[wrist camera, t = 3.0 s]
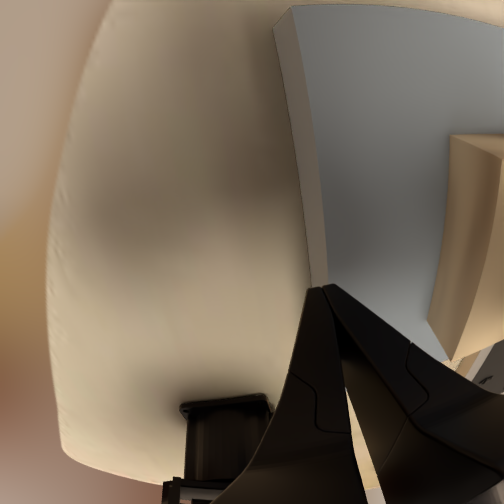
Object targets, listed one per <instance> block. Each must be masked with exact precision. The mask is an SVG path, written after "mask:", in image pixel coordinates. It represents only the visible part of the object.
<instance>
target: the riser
mask: <svg viewBox="0 0 504 504" xmlns="http://www.w3.org/2000/svg"><path fill="white" fill-rule="evenodd" d="M273 33H274V38H275V43H276V47H277V52H278V57H279V62H280V68H281V73H282V78H283V83H284V89H285V94H286V100H287V106H288V111H289V117H290V123H291V129H292V135H293V142H294V148H295V155H296V161H297V168H298V175H299V182H300V189H301V197H302V204H303V212H304V220H305V228H306V237H307V245H308V254H309V264H310V273H311V284H312V287H317V286H320V287H322V285H327V284H331V283H335V284H336V285H338V286H339V287H341V288H342V289H343V290H345V291H346V292H347V293H349V294H350V295H351V296H353V297H354V298H355V299H357V300H358V301H359V302H361V303H362V304H363V305H365V306H366V307H367V308H368V309H370V310H371V311H372V312H374V313H375V314H376V315H378V316H379V317H380V318H382V319H383V320H384V321H386V322H387V323H388V324H390V325H391V326H392V327H393V328H395V329H396V330H397V331H399V332H400V333H401V334H403V335H404V336H405V337H406V338H408V339H409V340H410V341H411V342H413V343H414V344H416V345H417V346H418V347H420V348H421V349H422V350H424V351H425V352H426V353H428V354H429V355H430V356H432V357H433V358H434V359H436V360H438V361H439V362H443V361H445V360H448V359H449V358H448V356H447V355H446V353H445V351H444V349H443V348H442V346H441V344H440V342H439V341H438V339H437V337H436V336H435V334H434V332H433V331H432V329H431V327H430V326H429V324H428V322H427V317H428V313H429V308H430V304H431V300H432V295H433V290H434V286H435V281H436V275H437V270H438V264H439V258H440V252H441V246H442V239H443V231H444V223H445V214H446V204H447V192H448V176H449V144H450V135H458V134H504V28H501V27H498V26H494V25H491V24H487V23H484V22H480V21H476V20H472V19H468V18H464V17H459V16H454V15H449V14H444V13H439V12H433V11H426V10H420V9H412V8H404V7H394V6H381V5H362V4H321V5H301V6H291V7H290V8H289V9H288V10H287V12H286V13H285V14H284V15H283V16H282V17H281V19H280V20H279V21H278V22H277V24H276V25H275V26H274V27H273ZM345 389H346V387H345ZM346 391H347V390H346Z"/></svg>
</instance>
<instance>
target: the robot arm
mask: <svg viewBox="0 0 504 504" xmlns="http://www.w3.org/2000/svg"><path fill="white" fill-rule="evenodd" d="M345 387H346V389H345ZM346 390H347V392H348V395H349V398H350V400H351V403H352V406H353V409H354V411H355V414H356V417H357V420H358V422H359V425H360V428H361V431H362V434H363V436H364V439H365V442H366V445H367V448H368V451H369V454H370V457H371V459H372V462H373V465H374V468H375V471H376V474H377V477H378V480H379V483H380V486H381V490H382V493H383V496H384V499H385V501H386V504H504V394H497V393H493V392H490V391H488V390H485V389H483V388H481V387H480V386H478V385H476V384H475V383H473V382H471V381H470V380H468V379H466V378H465V377H463V376H462V375H460V374H458V373H457V372H455V371H453V370H452V369H450V368H448V367H447V366H445V365H444V364H442V363H441V362H439V361H438V360H436V359H434V358H433V357H432V356H430V355H429V354H428V353H426V352H425V351H424V350H422V349H421V348H420V347H418V346H417V345H416V344H414V343H413V342H411V341H410V340H409V339H408V338H406V337H405V336H404V335H403V334H401V333H400V332H399V331H397V330H396V329H395V328H393V327H392V326H391V325H390V324H388V323H387V322H386V321H384V320H383V319H382V318H380V317H379V316H378V315H376V314H375V313H374V312H372V311H371V310H370V309H368V308H367V307H366V306H365V305H363V304H362V303H361V302H359V301H358V300H357V299H355V298H354V297H353V296H351V295H350V294H349V293H347V292H346V291H345V290H343V289H342V288H341V287H339V286H338V285H336V284H335V283H331V284H327V285H322V287H320V286H317V287H312V288H308V289H307V291H306V296H305V300H304V305H303V309H302V314H301V318H300V323H299V327H298V332H297V336H296V340H295V344H294V349H293V353H292V357H291V361H290V365H289V369H288V373H287V376H286V380H285V384H284V387H283V390H282V394H281V397H280V400H279V402H278V405H277V407H276V410H275V412H272V411H271V408H270V405H269V402H268V399H267V397H266V396H263V395H258V396H251V397H244V398H236V399H228V400H218V401H208V402H197V403H184V404H181V405H180V409H179V411H180V412H181V414H182V415H183V416H184V418H185V419H186V420H187V433H186V448H185V466H184V479H181V477H173V481H166V482H163V491H162V504H181V503H180V499H182V500H191V504H368V502H367V498H366V494H365V490H364V487H363V483H362V479H361V476H360V472H359V468H358V465H357V461H356V457H355V453H354V448H353V441H352V435H351V425H350V417H349V410H348V402H347V395H346ZM182 504H183V503H182Z"/></svg>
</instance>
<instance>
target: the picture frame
mask: <svg viewBox="0 0 504 504" xmlns="http://www.w3.org/2000/svg"><path fill="white" fill-rule="evenodd" d="M456 372H457V373H458V374H460V375H462V376H463V377H465V378H466V379H468V380H470V381H471V382H473V383H475V384H476V385H478V386H480V387H481V388H483V389H485V390H488V391H490V392H493V393H497V394H504V339H503V340H501V341H499V342H497V343H495V344H493V345H491V346H488V347H486V348H484V349H482V350H480V351H477V352H475V353H473V354H470V355H468V356H466V357H464V358H463V359H462V361H461V363H460V365H459V367H458V368H457V370H456Z"/></svg>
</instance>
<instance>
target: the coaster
mask: <svg viewBox="0 0 504 504" xmlns="http://www.w3.org/2000/svg"><path fill="white" fill-rule="evenodd" d="M427 322H428V324H429V326H430V327H431V329H432V331H433V332H434V334H435V336H436V337H437V339H438V341H439V342H440V344H441V346H442V348H443V349H444V351H445V353H446V355H447V356H448V358H449V360H450V362H453V361H456V360H458V359H461V358H463V357H466V356H468V355H470V354H473V353H475V352H477V351H480V350H482V349H484V348H486V347H488V346H491V345H493V344H495V343H497V342H499V341H501V340H503V339H504V134H458V135H450V144H449V176H448V192H447V204H446V214H445V223H444V231H443V239H442V246H441V252H440V258H439V264H438V270H437V275H436V281H435V286H434V290H433V295H432V300H431V304H430V308H429V313H428V317H427Z"/></svg>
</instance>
